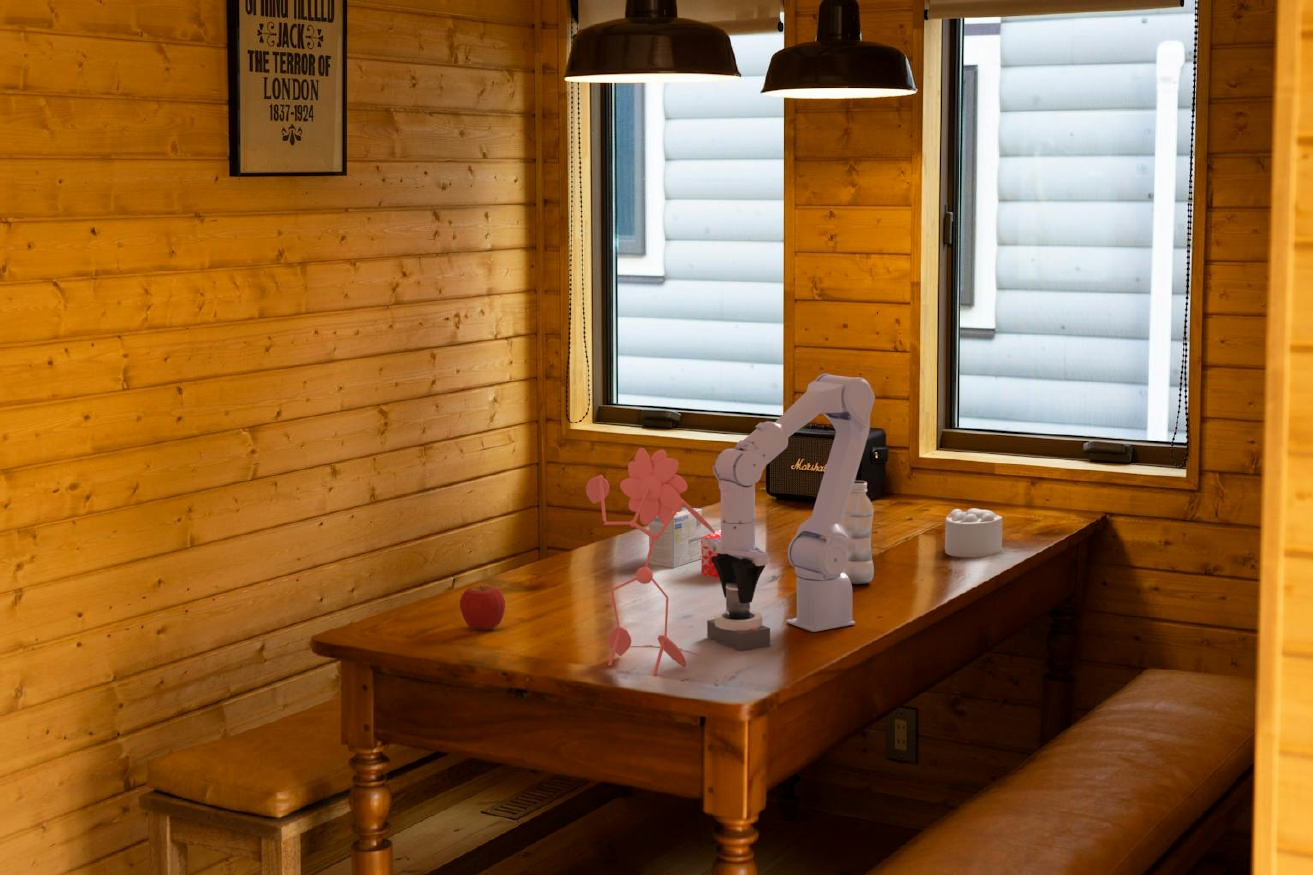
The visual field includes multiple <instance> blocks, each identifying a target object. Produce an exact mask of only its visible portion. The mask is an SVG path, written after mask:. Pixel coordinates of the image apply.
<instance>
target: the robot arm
mask: <svg viewBox="0 0 1313 875" xmlns="http://www.w3.org/2000/svg"><path fill="white" fill-rule="evenodd" d="M875 399H876V395H875V393H874V391H873V389H872V387H871V385H870V383H869V382H868V381H867V380H866V379H865V378H863V377H858V376H857V377H850V376H849V377H848V376H842V375H834V374H832V373H823V374H820V375H818V376H817V377H816V379H814V380H813V381H811V382H809V383H808V385H807V389H806V392H804V393H803V394H802V395H801V396H800V397H799V398H798V399H797V400H796V401H795V402H794V403H793V404H792V405H791V406H790V407H789V408H788V409H787V410H786V411H784V413H783V414H781V415H780V417H778V418H777V420H776V421H774V422H773V421H768V420H767V421H764V422H762V421H761V422H759V423H758V424H757V425H755V428H756V429H754V430H753V431H752V432H751V433H750V434H749V435H747V437H745V438H744V439H743V440H741V439H740V440H739V441H738V442H737V443H736V446H735V447H734V448H726V449H724V450H722V451H721V452H720V453H719V454H718V456H717V458H716V460H715V463H714V465H712V471H713V474H714V476H715V478H716V479H717V481H718V490H720V530H721V539H720V538H717V539H710V540H709V550H710V551H716V552H717V553H719V554H718V555H717V556H713V557H711V561H712V563H713V564H714V566H715V568H716V570H717V572H718V575H719V578H718V579H719V581H720V585H721V588H722V592H723V597H724V598H725V599H726V582H728V581H733V580H737V584H738V596H739V601H740V603H742V604H744V603H750V604H751V603H752V602H753V598H754V595H755V590H756V588H757V584H758V581H759V579H760V577H761V575H762V572H763V570H764V569H765V568H766V566H768V564H769V553H767V552H765V551H763V550H762V549H761V548H759V547H758V546H757V545H756V483H758V482H759V481H760V480H761V478H762V475H763V471H764V469H765V468H767V465H768V464H769V463H771V462H772V461H773V460H774V459H776V457H778V456H779V455H780V454H781V453H782V452H783V451H785V450H786V449H787V448H788V445H789V438H790V437H791V436H792V435H794V433H797V432H798V431H799V430H800V429H802V428H803V427H804V426H806V425H807V424H808V423H810V422H811V421H813V420H814V419H815V418H816V417H818V416H819V415H821V414H822V415H823V416H824V417H826V418H827V419H828V420H829V422H830V423H831V425H832V427H833V428H834V430H835V435H834V440H833V443H832V446H831V448H830V451H829V452H830V453H829V455H828V460H827V462H826V466H825V469H824V472H823V473H824V474H823V475H822V479H821V483H820V486H819V489H818V490H819V491H818V492H817V493H818V494H817V497H816V500H815V503H814V507H813V510H812V513H811V516H810V517H809V518H808V519H806V520H805V521H803V522H802V523H801V524H800V525H798V529H797V532H796V534H795V536H793V538H792V539H791V541H790V543H789V545H788V548H787V558H788V561H789V563H790V565H791V566H792V567H794V569H793V570H794V573H795V574H796V617H794V618H789V619H786V621H785V622H786V623H787V624H790V625H793V626H795V627H798V628H801V629H803V630H806V631H809V632H812V633H816V632H821V631H826V630H831V629H837V628H842V627H849V626H851V625H853V626H854V625H855V624H856V621H854V620H853V586H852V583H851V582H850V579H849V578H848V576H847V575H846V574H844V573H842V572H843V570H844V569H845V567H846V564H847V559H848V555H847V547H848V543H849V538H848V536H847V534H846V533H845V531H844V529H843V527H842V523H843V519H844V516H845V512H846V509H847V506H848V502H849V499H850V495H851V492H852V489H853V485H854V482H855V481H856V478H857V474H858V471H859V468H860V464H861V461H862V458H863V454H864V451H865V447H866V445H867V440H868V438H869V434H870V428H871V412H872V409H873V406H874V403H875ZM824 538H825V539H824Z"/></svg>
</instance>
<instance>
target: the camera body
mask: <svg viewBox="0 0 1313 875" xmlns="http://www.w3.org/2000/svg"><path fill="white" fill-rule="evenodd" d="M706 622H707V623H706V624H707V625H706V629H707V630H706V631H707V633H706V636H707V638H708V639H710V640H712V641H715V642H718V643H720V644H722V645H724V646H727V647H730V648H731V649H734V650H737V651H740V652H743V651H749V650H753V649H754V650H755V649H759V648H764V647H769V646H771V628H770V627H768V626H765V625H763V615H762V613H760V612H759V611H755V610H750V619H746V620H732V619H727V618H726V610H721V611H718V612H717V613H715V614H714V618H713V619H708V620H706Z"/></svg>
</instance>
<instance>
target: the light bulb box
mask: <svg viewBox="0 0 1313 875" xmlns="http://www.w3.org/2000/svg"><path fill="white" fill-rule="evenodd" d="M692 508H693V509H694V510H695V511H697V512H698V513H699V514H700V515H701V516H702V517H703V514H702V513H703V511H702V510H703V509H702V508H695V507H692ZM663 526H664V524H663V523H662V522H660V519H659V517H658V515H657V516H656V518H655V519H654V520H653V521H652V522H651V523H649V524H648V530H649V531H651V532H652V533H654V534H656V535H657V534H658V533H659V531H660V530H661V529H662V527H663ZM701 537H703V524H702V523H700V522H699V521H698V520H697V519H696V518H695V517H694V516H693V515H692V514H691V513H690V512H689V511H688V510H687V509H686V508H685V507H684V506H683V507H682V510H681V511H680V512H677V513H676V514H675V516H674V517H673V519H672V520H671V522H670V523H669V524H668V526H667V527H666V529H665V530H664V532H663V533H662V535H661V536H660V537H659V539H658V540H657V539H656V538H655V541H654V545H653V548H652V552H651V555H650V559H649V562H648V565H652V566H656V567H657V566H658V567H664V568H670V569H674V568H677V567H680V566H682V565H683V566H684V565H687V564H690V563H692V562H695V561H698V560H701ZM651 539H652V538H651V537H650V536H648V547H649V548H650V543H651ZM649 548H648V549H649Z"/></svg>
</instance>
